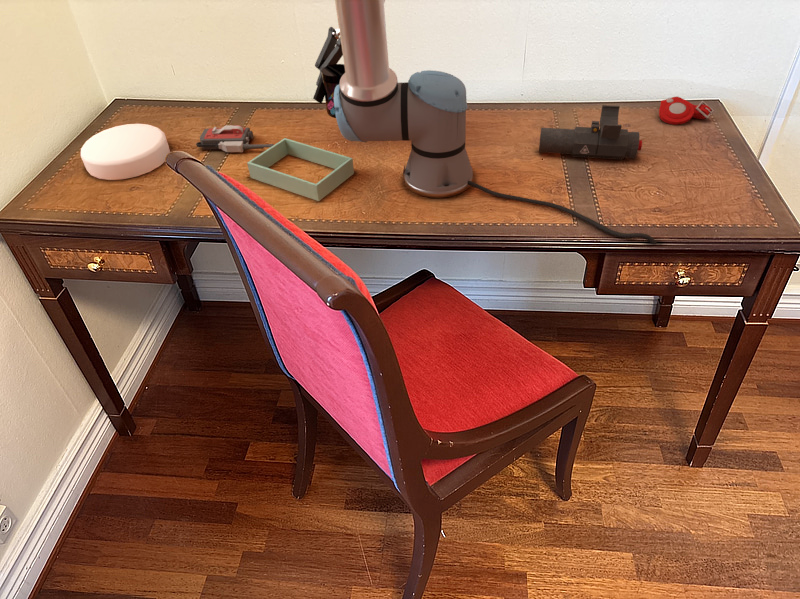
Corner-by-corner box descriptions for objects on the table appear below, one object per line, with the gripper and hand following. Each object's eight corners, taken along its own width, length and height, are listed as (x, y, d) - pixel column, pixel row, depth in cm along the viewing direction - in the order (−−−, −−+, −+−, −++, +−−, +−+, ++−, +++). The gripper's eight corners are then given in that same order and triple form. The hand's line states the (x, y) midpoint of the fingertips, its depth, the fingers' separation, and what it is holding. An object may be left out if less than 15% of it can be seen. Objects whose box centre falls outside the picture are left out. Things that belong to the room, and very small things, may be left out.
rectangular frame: (354, 173, 144) (352, 158, 142) (318, 201, 136) (316, 185, 134) (287, 152, 153) (284, 137, 150) (250, 177, 145) (246, 162, 142)
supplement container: (321, 117, 148) (315, 74, 141) (334, 104, 152) (329, 62, 145) (347, 121, 146) (342, 77, 139) (359, 108, 150) (355, 65, 143)
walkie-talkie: (194, 154, 154) (274, 153, 153) (190, 138, 151) (271, 136, 150) (204, 137, 161) (281, 135, 159) (200, 121, 158) (278, 119, 156)
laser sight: (539, 141, 151) (543, 102, 144) (636, 147, 147) (646, 107, 140) (537, 162, 144) (542, 122, 137) (639, 168, 140) (649, 127, 133)
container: (167, 173, 148) (161, 155, 145) (79, 185, 146) (71, 168, 143) (172, 134, 163) (167, 117, 160) (92, 145, 160) (85, 128, 157)
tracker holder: (668, 124, 152) (651, 97, 158) (666, 137, 156) (649, 111, 161) (718, 108, 151) (699, 82, 157) (714, 121, 155) (696, 96, 160)
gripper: (407, 23, 142) (372, 119, 144) (338, 11, 151) (305, 102, 152) (393, 6, 135) (357, 107, 137) (322, -6, 144) (288, 89, 145)
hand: (330, 104), depth 144 cm, fingers closed on supplement container, 7 cm apart
